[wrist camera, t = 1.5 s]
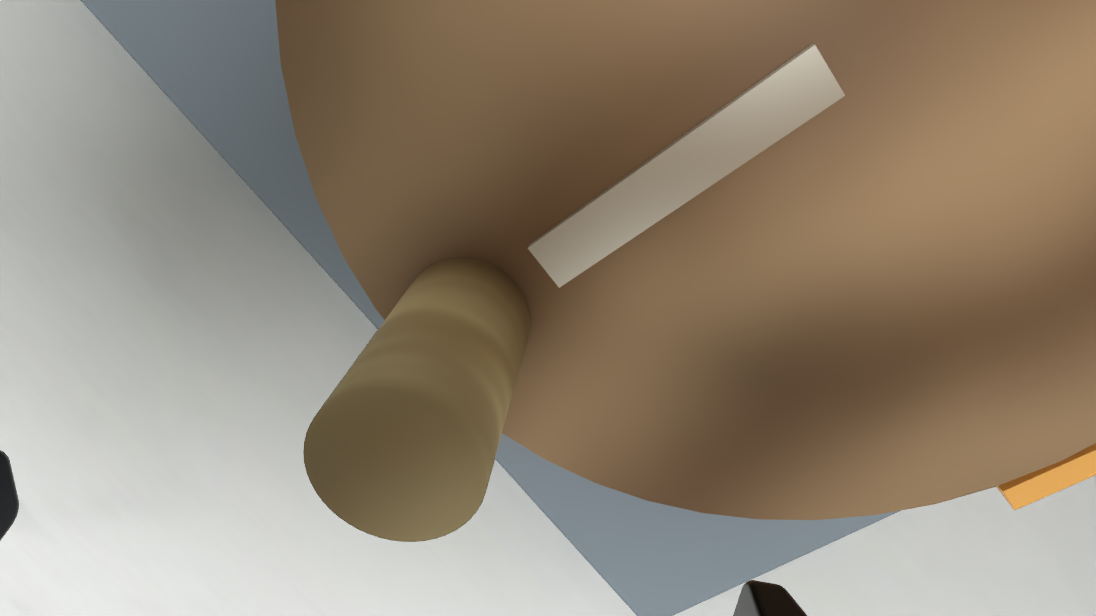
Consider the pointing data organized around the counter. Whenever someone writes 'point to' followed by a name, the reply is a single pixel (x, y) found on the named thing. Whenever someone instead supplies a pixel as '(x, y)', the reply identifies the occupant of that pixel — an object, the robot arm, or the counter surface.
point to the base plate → (285, 188)
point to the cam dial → (702, 247)
